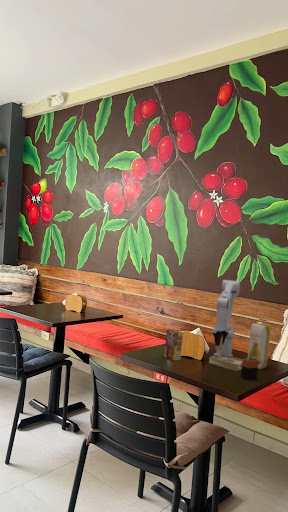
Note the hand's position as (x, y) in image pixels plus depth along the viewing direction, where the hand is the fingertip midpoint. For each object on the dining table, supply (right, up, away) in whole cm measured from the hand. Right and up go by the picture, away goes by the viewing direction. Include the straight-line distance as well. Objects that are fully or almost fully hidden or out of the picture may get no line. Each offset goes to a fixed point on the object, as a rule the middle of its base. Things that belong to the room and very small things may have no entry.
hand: (219, 345), depth 226 cm
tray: (+4, -10, -5) cm, 12 cm away
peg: (0, -2, 0) cm, 2 cm away
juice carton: (+20, -12, -1) cm, 23 cm away
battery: (+10, -11, -24) cm, 28 cm away
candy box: (-25, -7, -1) cm, 26 cm away
